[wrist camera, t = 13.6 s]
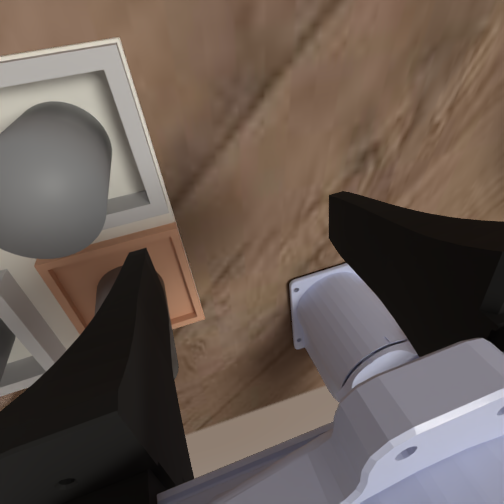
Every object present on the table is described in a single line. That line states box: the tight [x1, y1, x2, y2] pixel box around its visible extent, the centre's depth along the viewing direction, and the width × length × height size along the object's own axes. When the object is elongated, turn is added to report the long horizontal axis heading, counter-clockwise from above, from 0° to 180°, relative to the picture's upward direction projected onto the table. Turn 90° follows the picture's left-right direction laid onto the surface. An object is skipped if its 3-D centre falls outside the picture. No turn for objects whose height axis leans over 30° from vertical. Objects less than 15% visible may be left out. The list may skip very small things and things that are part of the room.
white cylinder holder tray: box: [0, 37, 205, 396], centre depth 17 cm, size 18×18×8 cm
